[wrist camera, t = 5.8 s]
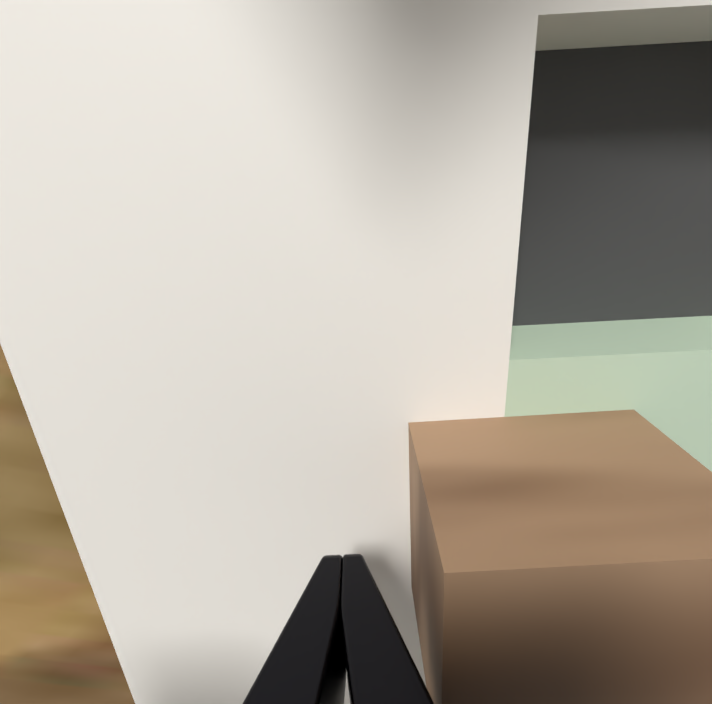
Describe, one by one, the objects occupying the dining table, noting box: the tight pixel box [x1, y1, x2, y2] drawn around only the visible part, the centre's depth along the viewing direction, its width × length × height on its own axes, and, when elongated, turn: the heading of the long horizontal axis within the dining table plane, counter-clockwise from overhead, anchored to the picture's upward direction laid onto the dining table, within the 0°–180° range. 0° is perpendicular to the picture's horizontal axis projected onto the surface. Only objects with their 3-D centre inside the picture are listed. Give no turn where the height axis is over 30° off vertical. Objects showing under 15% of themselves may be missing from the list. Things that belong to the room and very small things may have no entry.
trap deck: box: [0, 0, 712, 704], centre depth 12 cm, size 23×18×2 cm
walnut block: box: [408, 409, 712, 704], centre depth 9 cm, size 5×5×4 cm
